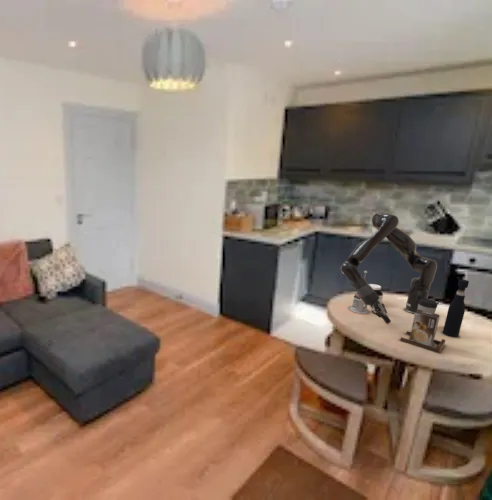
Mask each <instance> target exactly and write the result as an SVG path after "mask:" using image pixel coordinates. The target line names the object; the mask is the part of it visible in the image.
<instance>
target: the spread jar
mask: <svg viewBox="0 0 492 500" xmlns="http://www.w3.org/2000/svg"><path fill="white" fill-rule="evenodd" d="M368 284H369V285H370V286H371V287H372V288H373V290H374V291H375V292H376V294H377V295H378V296H379V299H378V301H379V302H380V303H381V304H382V302H383V297H384V294H383V293H384V292H383V291H382V286H381V285H379V284H375V283H368ZM360 300H362V299H360Z"/></svg>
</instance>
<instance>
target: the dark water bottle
mask: <svg viewBox="0 0 492 500" xmlns="http://www.w3.org/2000/svg"><path fill="white" fill-rule="evenodd" d="M469 285H470V281H469V280H468V279H463V278H461V279H458V282H457V287H458V289H457V291H456V293H455V295H454V298H453V300H452V301H451V302H450V304H449V306H448V309H447V313H446V317H445V322H444V325H443V329H442V334H443V335H444V336H446V337H450V338H458V337H459V335H460V333H461V332H460V331H461V328H462V324H463V320H464V317H465V312H466V304H465V298H466V292H465V291H466V289H468V288H469Z"/></svg>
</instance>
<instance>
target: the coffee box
mask: <svg viewBox="0 0 492 500" xmlns="http://www.w3.org/2000/svg"><path fill="white" fill-rule="evenodd" d="M440 316H441V315H440V314H438V313H435V314H434V313H430V312H427V311H423V310H419V309H418V310H417V311H416V312H415V314H414V316H413V320H412V321H413V322H412V326H411V331H410V332H411V335H409V339H408V340H411V341H415V342H418V343H421V344H424V345H427V346H430V347H434V344H435V343H434V340H435V338H436V334H437V330H438V324H439V320H440Z"/></svg>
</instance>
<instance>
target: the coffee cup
mask: <svg viewBox="0 0 492 500" xmlns="http://www.w3.org/2000/svg"><path fill="white" fill-rule="evenodd" d="M437 302H438V301H436V300H434V299H430V298H428V299H425V298H421V299H420V300H419V301H418V309H419V310H423V311H427V312H430V313H434V314H436V311H437V308H438V304H437ZM418 309H417V310H418Z"/></svg>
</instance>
